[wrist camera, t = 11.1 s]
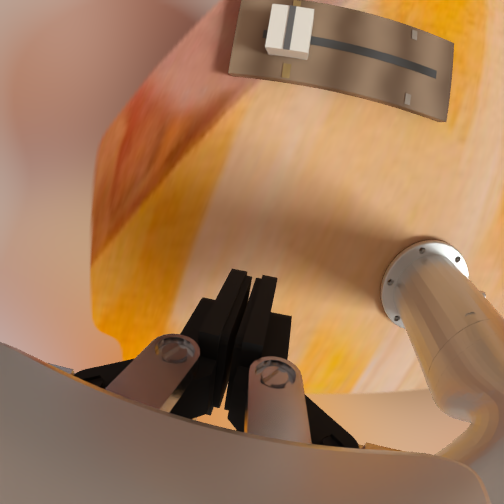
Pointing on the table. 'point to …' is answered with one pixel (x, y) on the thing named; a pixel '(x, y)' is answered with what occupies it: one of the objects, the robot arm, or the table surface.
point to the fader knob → (289, 31)
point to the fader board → (351, 57)
